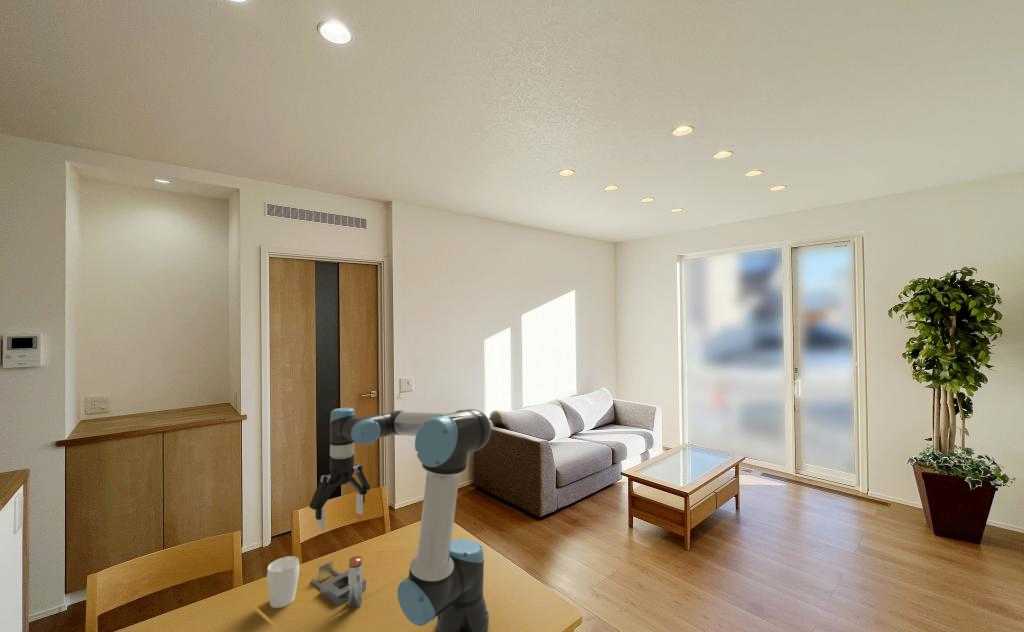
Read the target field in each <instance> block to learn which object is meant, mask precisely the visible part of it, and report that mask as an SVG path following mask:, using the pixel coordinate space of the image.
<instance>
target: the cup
mask: <svg viewBox="0 0 1024 632" xmlns="http://www.w3.org/2000/svg"><path fill="white" fill-rule="evenodd" d="M300 569H301V568H300V559H299V558H298V557H296V556H294V555H293V556H292V555H291V556H283V557H280V558H277V559H274V560H273V561H272V562H270V563H269V564H268V566H267V574H266V582H267V589H268V590H267V591H268V598H269V606H270V607H272V608H273V609H280V608H284V607H287V606H289V605H290V604H292V603H293V602H294V600H295V598H296V593H297V587H298V582H299V576H300Z"/></svg>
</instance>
